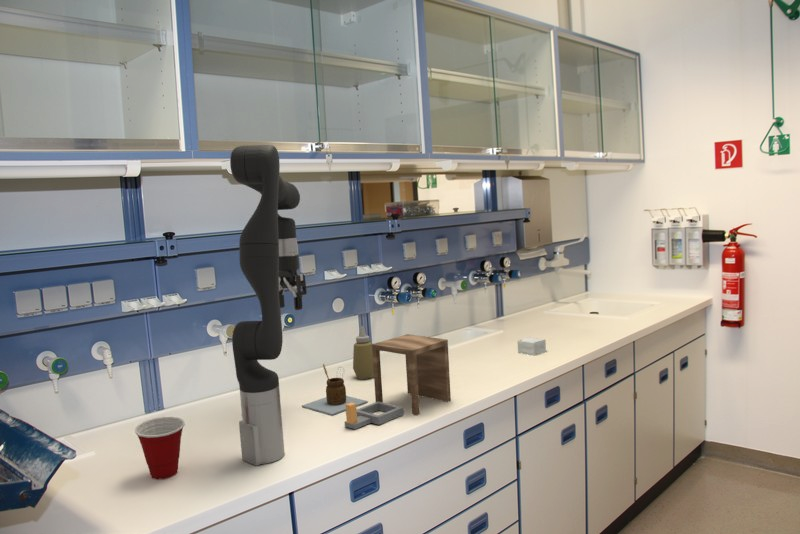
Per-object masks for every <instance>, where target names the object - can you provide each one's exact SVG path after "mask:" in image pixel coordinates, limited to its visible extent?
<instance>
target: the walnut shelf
mask: <svg viewBox="0 0 800 534" xmlns="http://www.w3.org/2000/svg"><path fill="white" fill-rule="evenodd" d="M381 351H382V352H387V353H393V354H399V355H405V368H406V370H405V371H406V385H407V386H406V387H407V394H409V393H410V394H409V395H410V401H411V402H410V403H411V415H412V414H413V416H418V414H419V415H420V414H421V411H420V397H422V396H423V397H424V398H428V399H431V398H433V400H436V399H437V400H436V401H440V400H442V402H445V401H447V402H446V403H449V402H451V400H452V399H451V394H452V393H451V380H450V379H451V378H450V377H451V376H450V359H449V358H450V357H449V341H448V339H446V338H441V337H440V338H438V337H433V336H432V337H431V336H423V335H415V334H410V333H409V334H403V335H400V336H396V337H393V338H390V339H386V340H381V341H379V342H375V343H372V353H373V368H374V377H373V382H374V395H375V396H374V397H375V398H374V399H375V402H378V401H379V402H383V403H384V400H383V399H384V398H383V385H382V383H383V382H382V370H381V369H382V368H381V367H382V366H381ZM423 397H422V398H423ZM448 401H449V402H448Z"/></svg>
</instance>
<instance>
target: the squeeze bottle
mask: <svg viewBox="0 0 800 534" xmlns="http://www.w3.org/2000/svg"><path fill="white" fill-rule="evenodd" d="M355 340H356V341H355V343H354V344H353V352H352V353H353V356H352V357H353V360H352V369H353V372H354V374H355V377H356V378H357V379H358V378H359V379H358V380H369V379H368V378H370V379H372V378H374V377H373V376H374V368H373V353H372V344H373V342H371V340H370V336H369V335H367V333H366V329H365V326H364V325H361V326H360V327H359V334H358V336H356V337H355Z"/></svg>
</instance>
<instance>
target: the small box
mask: <svg viewBox="0 0 800 534" xmlns="http://www.w3.org/2000/svg"><path fill="white" fill-rule="evenodd" d="M546 342H547V341H546V338H538V337H531V336H529V337H524V338H521V339H517V354H521V353H522V355H527V354H528V356H532V355H533V357H535V356H537V354H538V355H541V354H544V353H546V352H547V346H546Z"/></svg>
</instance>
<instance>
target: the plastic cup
mask: <svg viewBox="0 0 800 534" xmlns="http://www.w3.org/2000/svg"><path fill="white" fill-rule="evenodd" d="M185 425H186V422H185V420H184V419H183V418H181V417H177V416H160V417H155V418H151V419H147V420H144V421H143V422H141V423H138V424H137V425H136V427H134V433H135V435H136V436H137V438H138V439H139V442H140V445H141V449H142V452H143V454H144V458H145V463H146V465H147V468H148V471H149V475H150V476H151V478H152V479H154V480H165V479H169V478H172V477H174V476H175V475H177V473H178V470H179V462H180V461H179V460H180V452H181V442H182V433H183V429H184V427H185Z"/></svg>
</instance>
